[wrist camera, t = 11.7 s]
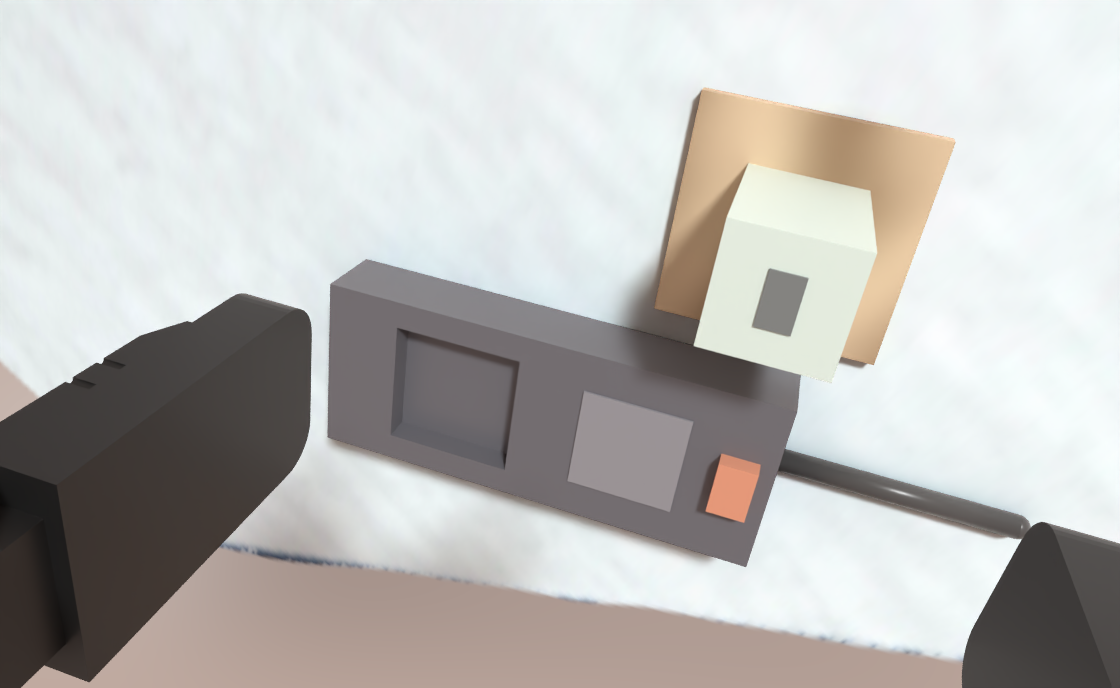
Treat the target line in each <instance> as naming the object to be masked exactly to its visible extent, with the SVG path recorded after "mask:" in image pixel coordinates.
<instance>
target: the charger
mask: <svg viewBox="0 0 1120 688" xmlns="http://www.w3.org/2000/svg"><path fill="white" fill-rule="evenodd" d="M876 256H877V246H876V237H875V228H874V219H873V210H872V201H871V192H870V191H869V190H865V189H860V188H856V187H852V186H847V185H843V184H838V183H834V182H830V181H825V180H821V179H816V178H812V177H807V176H803V175H799V174H794V173H790V172H785V171H781V170H777V169H772V168H768V167H763V166H759V165H755V164H750V163H748V166H747V168H746V171H745V173H744V176H743V178H742V181H741V183H740V185H739V188H738V190H737V193H736V195H735V198H734V200H733V203H732V205H731V208H730V210H729V213H728V215H727V218H726V222H725V226H724V230H723V234H722V237H721V241H720V245H719V249H718V253H717V257H716V261H715V265H714V268H713V272H712V276H711V280H710V284H709V288H708V292H707V296H706V300H705V303H704V307H703V311H702V315H701V319H700V323H699V327H698V331H697V335H696V338H695V342H694V346H696V347H699V348H703V349H707V350H710V351H714V352H718V353H721V354H725V355H729V356H733V357H736V358H740V359H744V360H747V361H751V362H755V363H758V364H762V365H766V366H769V367H773V368H777V369H781V370H784V371H788V372H792V373H795V374H799V375H803V376H806V377H810V378H814V379H818V380H821V381H825V382H829V383H832V380H833V377H834V374H835V372H836V369H837V366H838V363H839V360H840V357H841V355H842V352H843V349H844V346H845V343H846V340H847V338H848V335H849V332H850V329H851V326H852V323H853V321H854V318H855V315H856V312H857V309H858V306H859V304H860V301H861V298H862V295H863V292H864V290H865V287H866V284H867V281H868V278H869V275H870V273H871V270H872V267H873V264H874V261H875V258H876Z"/></svg>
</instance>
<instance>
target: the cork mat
mask: <svg viewBox="0 0 1120 688" xmlns="http://www.w3.org/2000/svg"><path fill="white" fill-rule="evenodd" d="M954 145H955V140H954V139H953V138H948V137H943V136H939V135H934V134H929V133H924V132H919V131H914V130H909V129H904V128H899V127H895V126H890V125H885V124H880V123H875V122H870V121H865V120H860V119H856V118H851V117H846V116H841V115H836V114H831V113H826V112H821V111H817V110H812V109H807V108H802V107H797V106H792V105H787V104H782V103H778V102H773V101H768V100H763V99H758V98H753V97H748V96H743V95H739V94H734V93H729V92H724V91H719V90H714V89H709V88H703V89H702V91H701V96H700V100H699V105H698V109H697V114H696V119H695V123H694V128H693V132H692V137H691V141H690V146H689V151H688V155H687V160H686V164H685V169H684V173H683V178H682V183H681V187H680V192H679V196H678V201H677V205H676V210H675V214H674V219H673V224H672V228H671V233H670V237H669V242H668V246H667V251H666V256H665V260H664V265H663V269H662V274H661V278H660V283H659V288H658V292H657V297H656V301H655V306H654V309H658V310H662V311H666V312H670V313H674V314H677V315H681V316H685V317H689V318H693V319H697V320H700V319H701V315H702V311H703V307H704V303H705V300H706V296H707V292H708V288H709V284H710V280H711V276H712V272H713V268H714V265H715V261H716V257H717V253H718V249H719V245H720V241H721V237H722V234H723V230H724V226H725V222H726V218H727V215H728V213H729V210H730V208H731V205H732V203H733V200H734V198H735V195H736V193H737V190H738V188H739V185H740V183H741V181H742V178H743V176H744V173H745V171H746V168H747V166H748V163H750V164H755V165H759V166H763V167H768V168H772V169H777V170H781V171H785V172H790V173H794V174H799V175H803V176H807V177H812V178H816V179H821V180H825V181H830V182H834V183H838V184H843V185H847V186H852V187H856V188H860V189H865V190H869V191H870V192H871V201H872V210H873V219H874V228H875V237H876V246H877V256H876V258H875V261H874V264H873V267H872V270H871V273H870V275H869V278H868V281H867V284H866V287H865V290H864V292H863V295H862V298H861V301H860V304H859V306H858V309H857V312H856V315H855V318H854V321H853V323H852V326H851V329H850V332H849V335H848V338H847V340H846V343H845V346H844V349H843V352H842V355H841V357H844V358H848V359H852V360H856V361H860V362H864V363H867V364H871V365H874V363H875V360H876V357H877V355H878V352H879V349H880V346H881V344H882V341H883V338H884V335H885V333H886V330H887V327H888V325H889V322H890V319H891V316H892V314H893V311H894V308H895V306H896V303H897V300H898V297H899V295H900V292H901V289H902V287H903V284H904V281H905V278H906V276H907V273H908V270H909V268H910V265H911V262H912V259H913V257H914V254H915V251H916V248H917V246H918V243H919V240H920V238H921V235H922V232H923V229H924V227H925V224H926V221H927V219H928V216H929V213H930V210H931V208H932V205H933V202H934V200H935V197H936V194H937V191H938V189H939V186H940V183H941V180H942V178H943V175H944V172H945V170H946V167H947V164H948V161H949V159H950V156H951V153H952V151H953V148H954Z"/></svg>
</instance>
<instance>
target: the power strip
mask: <svg viewBox="0 0 1120 688" xmlns="http://www.w3.org/2000/svg"><path fill="white" fill-rule="evenodd" d="M800 377H801V375H799V374H795V373H792V372H788V371H784V370H781V369H777V368H773V367H769V366H766V365H762V364H758V363H755V362H751V361H747V360H744V359H740V358H736V357H733V356H729V355H725V354H721V353H718V352H714V351H710V350H707V349H703V348H699V347H696V346H693V345H689V344H685V343H682V342H678V341H674V340H670V339H666V338H663V337H659V336H655V335H651V334H647V333H644V332H640V331H636V330H632V329H629V328H625V327H621V326H617V325H613V324H610V323H606V322H602V321H598V320H594V319H591V318H587V317H583V316H579V315H575V314H572V313H568V312H564V311H560V310H557V309H553V308H549V307H545V306H541V305H538V304H534V303H530V302H526V301H522V300H519V299H515V298H511V297H507V296H504V295H500V294H496V293H492V292H488V291H485V290H481V289H477V288H473V287H469V286H466V285H462V284H458V283H454V282H451V281H447V280H443V279H439V278H435V277H432V276H428V275H424V274H420V273H416V272H413V271H409V270H405V269H401V268H397V267H394V266H390V265H386V264H382V263H379V262H375V261H371V260H367V259H366V260H365V261H363V262H362V263H360V264H359V265H357V266H356V267H355V268H353V269H352V270H350V271H349V272H347V273H346V274H344V275H343V276H341V277H340V278H339V279H337V280H336V281H334V282H333V283H331V284H330V335H329V388H328V437H329V438H332V439H335V440H338V441H342V442H345V443H348V444H351V445H354V446H358V447H361V448H364V449H367V450H371V451H374V452H377V453H380V454H383V455H387V456H390V457H393V458H396V459H400V460H403V461H406V462H409V463H412V464H416V465H419V466H422V467H425V468H428V469H432V470H435V471H438V472H441V473H445V474H448V475H451V476H454V477H457V478H461V479H464V480H467V481H470V482H474V483H477V484H480V485H483V486H486V487H490V488H493V489H496V490H499V491H503V492H506V493H509V494H512V495H515V496H519V497H522V498H525V499H528V500H532V501H535V502H538V503H541V504H544V505H548V506H551V507H554V508H557V509H561V510H564V511H567V512H570V513H573V514H577V515H580V516H583V517H586V518H589V519H593V520H596V521H599V522H602V523H606V524H609V525H612V526H615V527H618V528H622V529H625V530H628V531H631V532H635V533H638V534H641V535H644V536H647V537H651V538H654V539H657V540H660V541H664V542H667V543H670V544H673V545H676V546H680V547H683V548H686V549H689V550H693V551H696V552H699V553H702V554H705V555H709V556H712V557H715V558H718V559H722V560H725V561H728V562H731V563H734V564H738V565H741V566H744V567H746V566H747V563H748V560H749V557H750V554H751V551H752V548H753V545H754V541H755V538H756V535H757V532H758V529H759V526H760V523H761V520H762V517H763V514H764V511H765V508H766V505H767V502H768V499H769V496H770V493H771V490H772V487H773V484H774V481H775V478H776V474H777V471H780V472H783V473H787V474H790V475H794V476H797V477H801V478H804V479H808V480H811V481H815V482H818V483H822V484H825V485H829V486H832V487H836V488H839V489H843V490H846V491H850V492H853V493H857V494H860V495H864V496H867V497H871V498H874V499H878V500H881V501H885V502H888V503H891V504H895V505H898V506H902V507H905V508H909V509H912V510H916V511H919V512H923V513H926V514H930V515H933V516H937V517H940V518H944V519H947V520H951V521H954V522H958V523H961V524H965V525H968V526H972V527H975V528H979V529H982V530H986V531H989V532H993V533H996V534H1000V535H1003V536H1006V537H1010V538H1013V539H1023V537H1024V535H1025V534H1026V533H1027V531H1028V530H1029V529H1030V528H1031V527H1030V523H1029V521H1028V520H1027V519H1026V518H1025V517H1023V516H1021V515H1018V514H1014V513H1011V512H1007V511H1004V510H1000V509H997V508H993V507H990V506H986V505H982V504H979V503H975V502H972V501H968V500H965V499H961V498H958V497H954V496H951V495H947V494H943V493H940V492H936V491H933V490H929V489H926V488H922V487H919V486H915V485H911V484H908V483H904V482H901V481H897V480H894V479H890V478H887V477H883V476H880V475H876V474H872V473H869V472H865V471H862V470H858V469H855V468H851V467H848V466H844V465H840V464H837V463H833V462H830V461H826V460H823V459H819V458H816V457H812V456H808V455H805V454H801V453H798V452H794V451H791V450H787V449H785V447H786V444H787V441H788V438H789V435H790V432H791V429H792V426H793V423H794V420H795V417H796V414H797V409H798V398H799V387H800Z"/></svg>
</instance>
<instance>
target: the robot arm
mask: <svg viewBox="0 0 1120 688" xmlns="http://www.w3.org/2000/svg"><path fill="white" fill-rule="evenodd" d="M311 342H312V330H311V322H310V319H309V316H308V315H307V313H306V312H305V311H303V310H301V309H298V308H294V307H291V306H287V305H284V304H280V303H276V302H273V301H269V300H266V299H262V298H259V297H255V296H252V295H248V294H242V293H241V294H237V295H235V296H233V297H231V298H229V299H228V300H226V301H225V302H223V303H222V304H220V305H219V306H217V307H216V308H214V309H212V310H211V311H209V312H208V313H206V314H205V315H203V316H202V317H200V318H198V319H197V320H195V321H194V322H188V321H186V322H183V323H180V324H177V325H173V326H170V327H167V328H164V329H160V330H157V331H154V332H151V333H147V334H144V335H141V336H139V337H137V338H136V339H134V340H133V341H131V342H129V343H128V344H126V345H124V346H123V347H121V348H120V349H118V350H116V351H115V352H113V353H111V354H110V355H108V356H107V357H105V358H104V361H103V363H102V364H99V363H95V364H94V365H92V366H90V367H89V368H87V369H85V370H84V371H82V372H81V373H79V374H77V375H76V376H74V377H73V381H72V382H71V383H67V382H64V383H63V384H61V385H59V386H58V387H56V388H55V389H53V390H51V391H50V392H48V393H46V394H45V395H43V396H42V397H40V398H38V399H37V400H35V401H34V402H32V403H30V404H29V405H27V406H25V407H24V408H22V409H21V410H19V411H17V412H16V413H14V414H13V415H11V416H9V417H7V418H6V419H4V420H3V421H1V422H0V688H21V687H22V686H23V685H24V684H25V683H26V682H27V681H28V680H29V679H30V678H31V677H32V676H33V675H34V674H35V673H36V672H37V671H39V669H41V668H42V667H43V666H44V665H45V666H48V667H50V668H53V669H56V670H58V671H61V672H63V673H66V674H69V675H71V676H74V677H76V678H79V679H82V680H84V681H87V682H90V681H91V680H92V679H93V678H94V677H95V676H96V675H97V674H98V673H99V672H100V671H101V670H102V668H104V667H105V665H106V664H107V663H108V662H109V661H110V660H111V659H112V658H113V657H114V656H115V655H116V654H117V653H118V652H119V651H120V650H121V649H122V648H123V647H124V646H125V645H126V644H127V643H128V641H129V640H130V639H131V638H132V637H133V636H134V635H135V634H136V633H137V632H138V631H139V630H140V629H141V628H142V627H143V626H144V625H145V624H146V623H147V622H148V621H149V620H150V619H151V617H152V616H153V615H154V614H155V613H156V612H157V611H158V610H159V609H160V608H161V607H162V606H163V605H164V604H165V603H166V602H167V601H168V600H169V599H170V597H172V595H173V594H174V593H175V592H176V591H177V590H178V589H179V588H180V587H181V586H182V585H183V584H184V583H185V582H186V581H187V580H188V579H189V578H190V577H191V576H192V574H193V573H194V572H195V571H196V570H197V569H198V568H199V567H200V566H201V565H202V564H203V563H204V562H205V561H206V560H207V559H208V558H209V557H210V556H211V555H212V554H213V553H214V551H215V550H217V548H218V547H219V546H220V545H221V544H222V543H223V542H224V541H225V540H226V539H227V538H228V537H229V536H230V535H231V534H232V533H233V532H234V531H235V530H236V529H237V528H238V527H239V526H240V524H241V523H242V522H243V521H244V520H245V519H246V518H247V517H248V516H249V515H250V514H251V513H252V512H253V511H254V510H255V509H256V508H257V507H258V506H259V505H260V504H261V503H262V501H263V500H264V499H265V498H266V497H267V496H268V495H269V494H270V493H271V492H272V491H273V490H274V489H275V488H276V487H277V486H278V485H279V484H280V483H281V482H282V481H283V480H284V478H285V477H286V476H287V475H288V474H289V473H290V472H291V471H292V469H293V468H294V466H295V465H296V463H297V462H298V460H299V458H300V456H301V454H302V452H303V449H304V447H305V444H306V441H307V437H308V433H309V427H310V401H311ZM962 668H963V669H962V688H1120V544H1119V543H1116V542H1112V541H1109V540H1105V539H1102V538H1098V537H1095V536H1091V535H1088V534H1084V533H1080V532H1077V531H1073V530H1070V529H1066V528H1063V527H1059V526H1056V525H1052V524H1049V523H1045V522H1040V523H1037V524H1035V525H1033V526H1032V527H1031V528H1030V529H1029V530H1028V531H1027V533H1026V534H1025V535H1024V537H1023V539H1022V540H1021V542H1020V544H1019V546H1018V547H1017V549H1016V551H1015V553H1014V555H1013V556H1012V558H1011V560H1010V562H1009V564H1008V565H1007V567H1006V569H1005V571H1004V573H1003V574H1002V576H1001V578H1000V580H999V582H998V583H997V585H996V587H995V589H994V591H993V592H992V594H991V596H990V598H989V600H988V601H987V603H986V605H985V607H984V609H983V610H982V612H981V614H980V616H979V618H978V619H977V621H976V623H975V625H974V627H973V629H972V631H971V634H970V636H969V639H968V642H967V645H966V649H965V654H964V659H963V667H962Z"/></svg>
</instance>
